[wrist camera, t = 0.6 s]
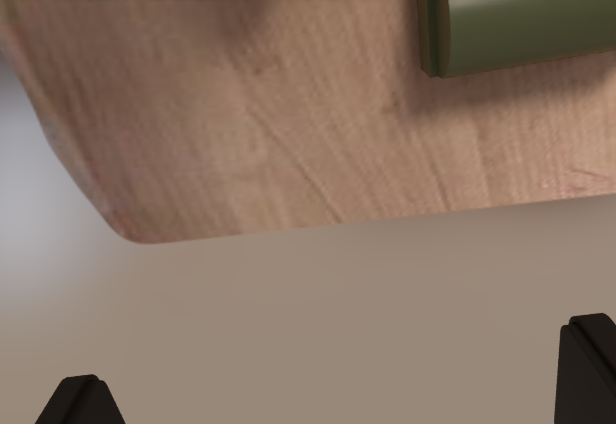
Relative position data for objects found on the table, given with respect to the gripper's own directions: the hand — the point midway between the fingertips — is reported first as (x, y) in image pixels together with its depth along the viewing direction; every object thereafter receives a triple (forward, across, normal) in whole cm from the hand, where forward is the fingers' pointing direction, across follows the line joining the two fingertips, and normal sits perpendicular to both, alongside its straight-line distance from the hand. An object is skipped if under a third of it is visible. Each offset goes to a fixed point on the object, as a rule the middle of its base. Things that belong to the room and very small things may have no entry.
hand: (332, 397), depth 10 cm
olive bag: (+27, -14, -4) cm, 31 cm away
